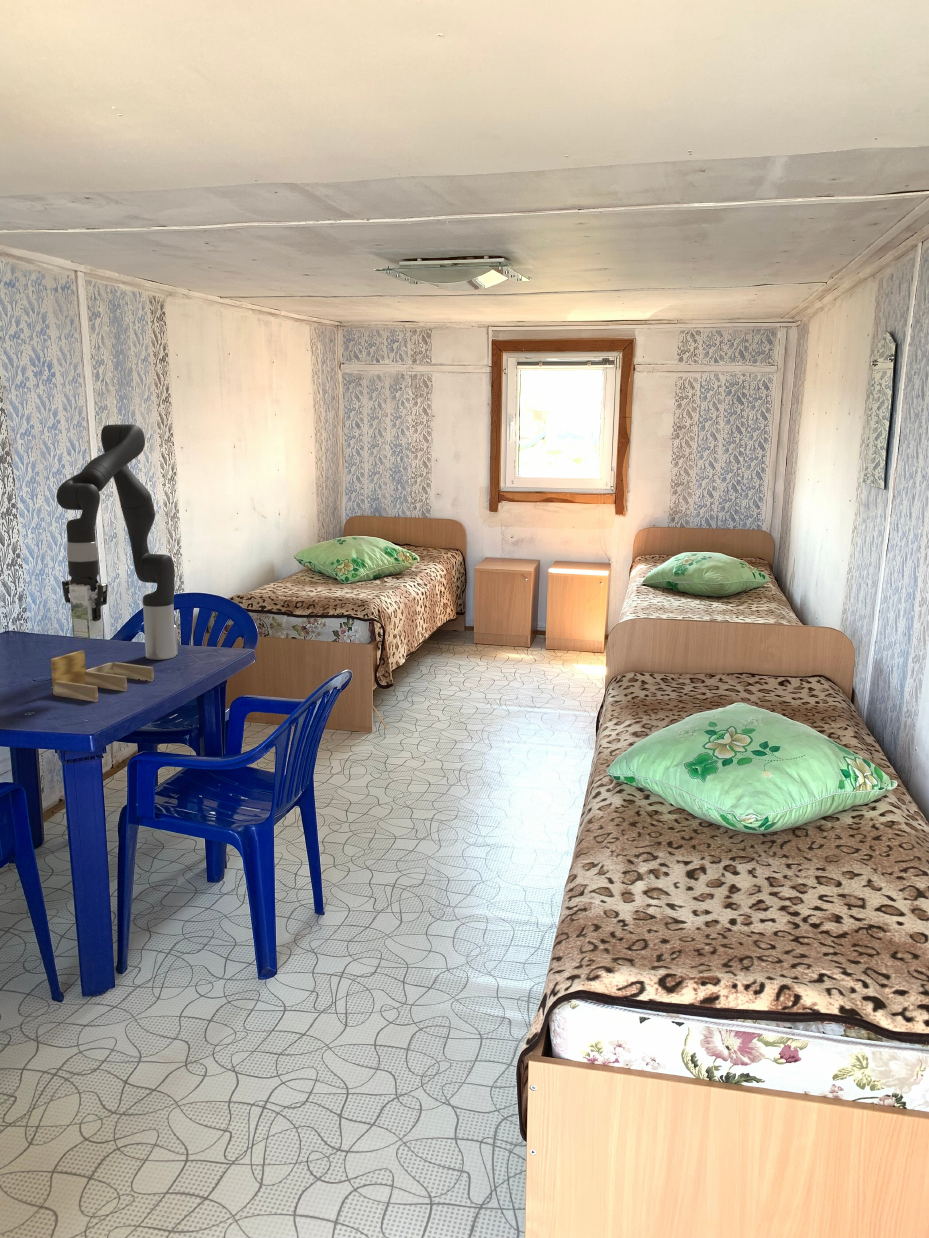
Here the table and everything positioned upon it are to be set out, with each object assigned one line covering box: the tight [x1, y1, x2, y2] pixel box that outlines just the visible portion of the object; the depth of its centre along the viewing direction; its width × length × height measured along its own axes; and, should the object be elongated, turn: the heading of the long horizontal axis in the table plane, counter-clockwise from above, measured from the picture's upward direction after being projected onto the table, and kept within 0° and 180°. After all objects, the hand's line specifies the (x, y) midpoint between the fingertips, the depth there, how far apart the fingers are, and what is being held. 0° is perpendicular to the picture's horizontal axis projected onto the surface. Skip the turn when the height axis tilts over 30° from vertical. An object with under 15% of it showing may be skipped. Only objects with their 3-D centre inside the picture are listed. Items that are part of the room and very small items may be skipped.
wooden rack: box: [50, 650, 155, 703], centre depth 249 cm, size 23×15×10 cm, turn 159°
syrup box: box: [69, 584, 104, 639], centre depth 241 cm, size 6×6×14 cm
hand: (87, 619), depth 241 cm, fingers closed on syrup box, 6 cm apart
